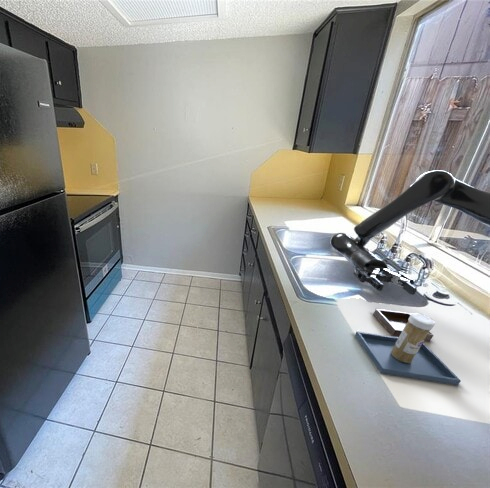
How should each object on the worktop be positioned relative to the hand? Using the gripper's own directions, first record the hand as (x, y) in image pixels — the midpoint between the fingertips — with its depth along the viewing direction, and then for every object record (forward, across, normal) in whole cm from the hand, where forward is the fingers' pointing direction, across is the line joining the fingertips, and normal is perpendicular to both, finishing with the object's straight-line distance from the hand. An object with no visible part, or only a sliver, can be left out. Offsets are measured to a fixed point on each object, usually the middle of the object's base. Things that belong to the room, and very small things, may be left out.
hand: (397, 290), depth 74 cm
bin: (-3, +8, +15) cm, 17 cm away
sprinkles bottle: (+11, 0, +15) cm, 18 cm away
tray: (+11, 0, +15) cm, 19 cm away
